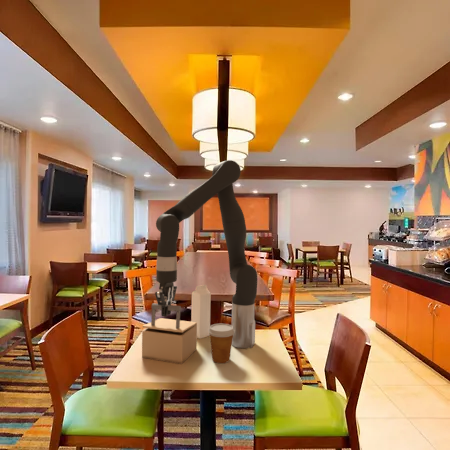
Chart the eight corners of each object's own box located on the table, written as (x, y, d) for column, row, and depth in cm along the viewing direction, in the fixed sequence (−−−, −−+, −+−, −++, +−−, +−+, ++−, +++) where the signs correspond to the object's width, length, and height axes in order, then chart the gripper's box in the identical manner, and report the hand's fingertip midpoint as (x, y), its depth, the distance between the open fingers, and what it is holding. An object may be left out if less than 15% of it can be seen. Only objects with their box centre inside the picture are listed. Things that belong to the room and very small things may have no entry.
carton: (196, 349, 134) (196, 324, 134) (181, 363, 121) (182, 336, 121) (159, 344, 139) (160, 319, 139) (141, 357, 125) (142, 330, 125)
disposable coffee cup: (236, 356, 128) (237, 324, 128) (230, 366, 119) (230, 333, 119) (212, 352, 131) (213, 322, 131) (204, 363, 122) (204, 330, 121)
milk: (210, 335, 150) (211, 285, 149) (199, 338, 146) (200, 287, 145) (201, 331, 154) (202, 283, 153) (190, 334, 150) (191, 285, 149)
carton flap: (196, 323, 134) (197, 301, 134) (182, 332, 121) (183, 307, 121) (160, 319, 139) (161, 298, 139) (142, 327, 125) (143, 303, 126)
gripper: (167, 272, 118) (166, 321, 118) (183, 266, 131) (183, 311, 131) (148, 270, 120) (147, 319, 120) (166, 265, 133) (165, 309, 133)
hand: (166, 315), depth 126 cm, fingers closed on carton flap, 2 cm apart
